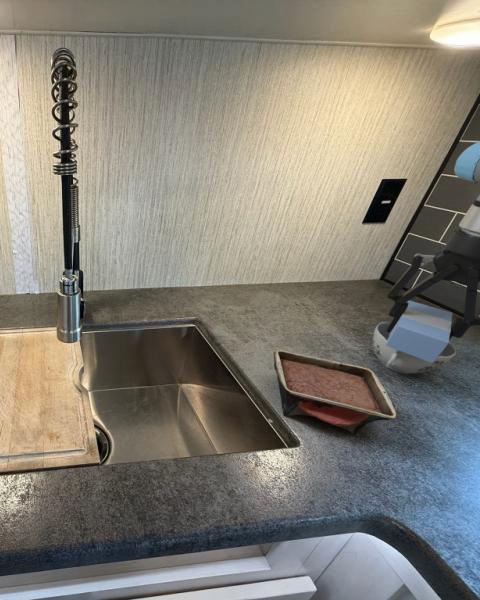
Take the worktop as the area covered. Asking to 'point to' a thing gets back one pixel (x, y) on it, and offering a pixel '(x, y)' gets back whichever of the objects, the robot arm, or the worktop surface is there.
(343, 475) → the worktop surface
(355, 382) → the baking dish
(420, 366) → the teacup
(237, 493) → the worktop surface
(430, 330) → the tea packet
